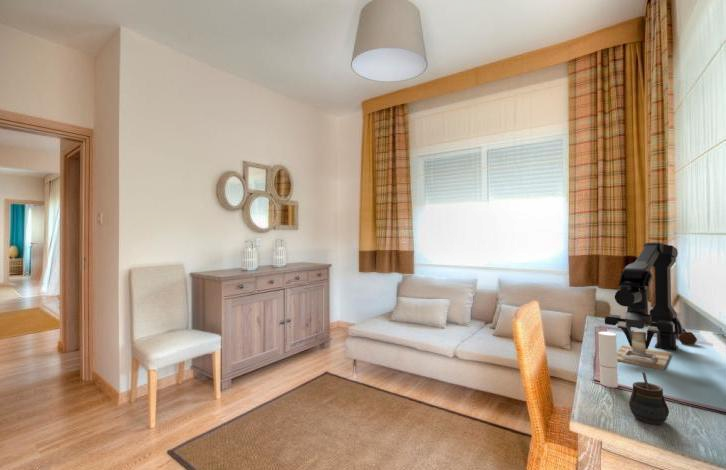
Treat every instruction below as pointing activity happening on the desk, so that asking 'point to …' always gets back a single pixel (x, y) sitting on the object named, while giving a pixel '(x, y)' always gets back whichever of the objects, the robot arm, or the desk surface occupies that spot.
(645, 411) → the mate gourd
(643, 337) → the beige rounded cylinder
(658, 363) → the subfloor panel
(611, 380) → the tube
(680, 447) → the desk surface
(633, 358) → the collar
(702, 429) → the desk surface
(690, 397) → the desk surface
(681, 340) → the brown textured oblong piece
